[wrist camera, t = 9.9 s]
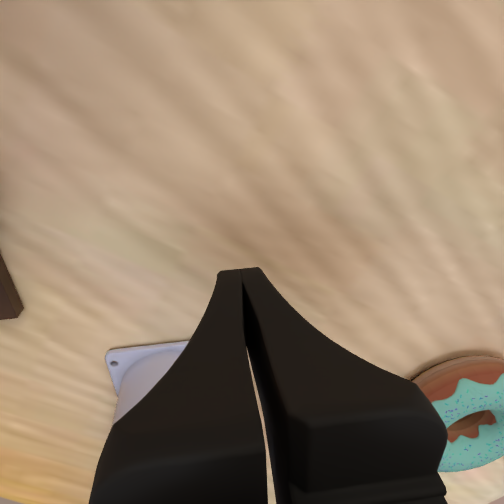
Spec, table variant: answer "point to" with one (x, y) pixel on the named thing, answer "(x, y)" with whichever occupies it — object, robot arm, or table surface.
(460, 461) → the donut
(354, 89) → the table surface
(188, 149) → the table surface
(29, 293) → the table surface
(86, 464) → the table surface
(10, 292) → the board
